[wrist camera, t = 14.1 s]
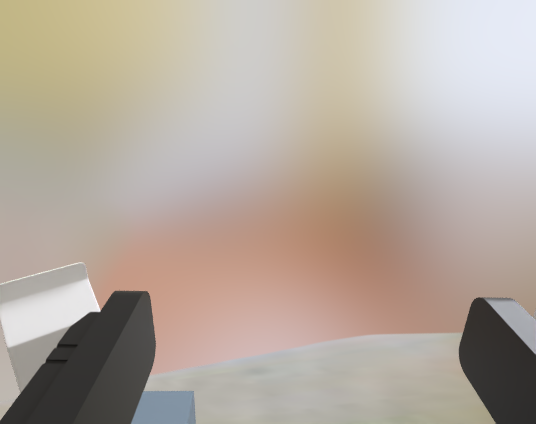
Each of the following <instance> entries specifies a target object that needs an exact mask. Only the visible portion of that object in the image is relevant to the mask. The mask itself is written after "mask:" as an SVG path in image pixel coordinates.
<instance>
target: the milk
mask: <svg viewBox="0 0 536 424" xmlns="http://www.w3.org/2000/svg"><path fill="white" fill-rule="evenodd" d="M89 312H100V309H99V306H98V303H97V301H96V298H95V295H94V293H93V290H92V287H91V285H90V282H89V280H88V276H87V270H86V266H85V264H84V263H82V262H79V263H75V264H72V265H68V266H64V267H60V268H57V269H53V270H49V271H46V272H42V273H38V274H34V275H31V276H27V277H23V278H20V279H16V280H12V281H9V282H5V283H1V284H0V322H1V326H2V330H3V334H4V338H5V342H6V347H7V350H8V353H9V357H10V360H11V363H12V367H13V370H14V373H15V377H16V380H17V383H18V387H19V390H20V393H21V392H22V391H23V389H24V388H25V387H26V385H27V384H28V383H29V381H30V380H31V379H32V377H33V376H34V375H35V373H36V372H37V371H38V369H39V368H40V367H41V365H42V364H45V362H46V359H47V357H48V356H49V354H50V353H51V352H52V350H53V349H54V348H57V344H58V342H59V341H60V340H61V338H62V337H63V336H64V334H65V333H66V332H67V330H68V329H69V328H70V326H72V325H73V324H74V323H76V322H77V321H78V320H80V319H81V318H82V317H84V316H85V315H86V314H88V313H89Z"/></svg>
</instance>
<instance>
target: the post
mask: <svg viewBox="0 0 536 424" xmlns="http://www.w3.org/2000/svg"><path fill="white" fill-rule="evenodd" d="M131 424H196V419H195V404H194V391H143V393H142V396H141V398H140V401H139V404H138V406H137V409H136V412H135V414H134V417H133V420H132V422H131Z"/></svg>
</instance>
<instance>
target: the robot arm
mask: <svg viewBox="0 0 536 424" xmlns="http://www.w3.org/2000/svg"><path fill="white" fill-rule="evenodd" d="M155 342H156V341H155V333H154V325H153V316H152V308H151V300H150V296H149V293H148V292H147V291H115V292H114V293H113V294H112V295H111V296H110V298H109V299H108V301H107V302H106V304H105V305H104V307H103V308H102V310H101V311H100V312H89V313H88V314H86V315H85V316H84V317H82V318H81V319H80V320H78V321H77V322H76V323H74V324H73V325H72V326H70V328H69V329H68V330H67V332H66V333H65V334H64V336H63V337H62V338H61V340H60V341H59V342H58V344H57V348H54V349H53V350H52V352H51V353H50V354H49V356H48V357H47V359H46V362H45V364H42V365H41V367H40V368H39V369H38V371H37V372H36V373H35V375H34V376H33V377H32V379H31V380H30V381H29V383H28V384H27V385H26V387H25V388H24V389H23V391H22V392H21V394H20V395H19V396H18V398H17V399H16V400H15V402H14V403H13V404H12V406H11V407H10V408H9V410H8V411H7V412H6V414H5V415H4V416H3V418H2V419H1V420H0V424H131V422H132V420H133V417H134V414H135V412H136V409H137V406H138V404H139V401H140V398H141V396H142V393H143V390H144V388H145V385H146V382H147V380H148V377H149V374H150V372H151V369H152V366H153V362H154V357H155V347H156V343H155ZM459 359H460V364H461V367H462V369H463V372H464V373H465V375H466V377H467V378H468V380H469V381H470V383H471V385H472V386H473V388H474V389H475V391H476V392H477V394H478V396H479V397H480V399H481V400H482V402H483V403H484V405H485V407H486V408H487V410H488V411H489V413H490V415H491V416H492V418H493V419H494V421H495V422H496V423H495V424H536V310H535V313H534V316H533V317H532V316H531V315H530V314H529V313H528V312H526V310H524V309H523V308H522V307H521V306H520V305H519V304H518V303H517V302H516V301H515V300H513V299H511V298H476V299H474V301H473V302H472V304H471V307H470V311H469V314H468V317H467V321H466V324H465V328H464V332H463V335H462V339H461V342H460V346H459Z"/></svg>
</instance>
